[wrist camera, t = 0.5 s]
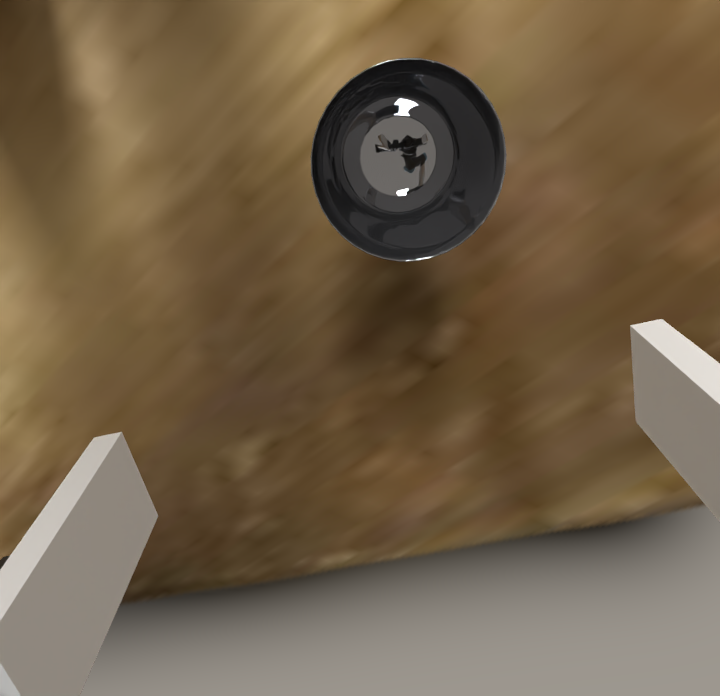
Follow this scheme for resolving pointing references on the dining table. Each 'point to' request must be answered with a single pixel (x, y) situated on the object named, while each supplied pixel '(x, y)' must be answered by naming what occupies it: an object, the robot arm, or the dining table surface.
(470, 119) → the wine glass
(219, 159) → the dining table surface
